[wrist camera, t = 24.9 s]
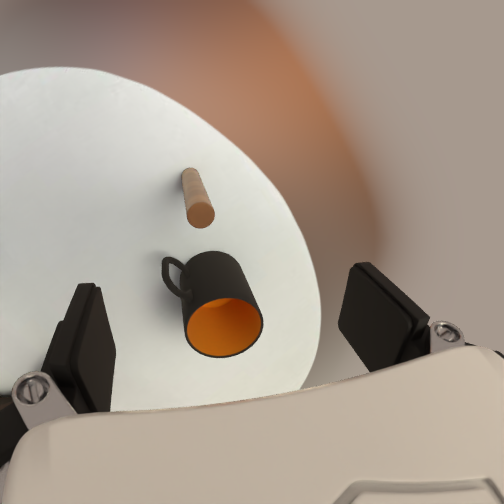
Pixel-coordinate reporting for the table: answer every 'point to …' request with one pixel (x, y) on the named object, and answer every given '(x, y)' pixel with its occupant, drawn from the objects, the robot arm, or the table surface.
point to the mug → (215, 304)
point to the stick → (196, 200)
